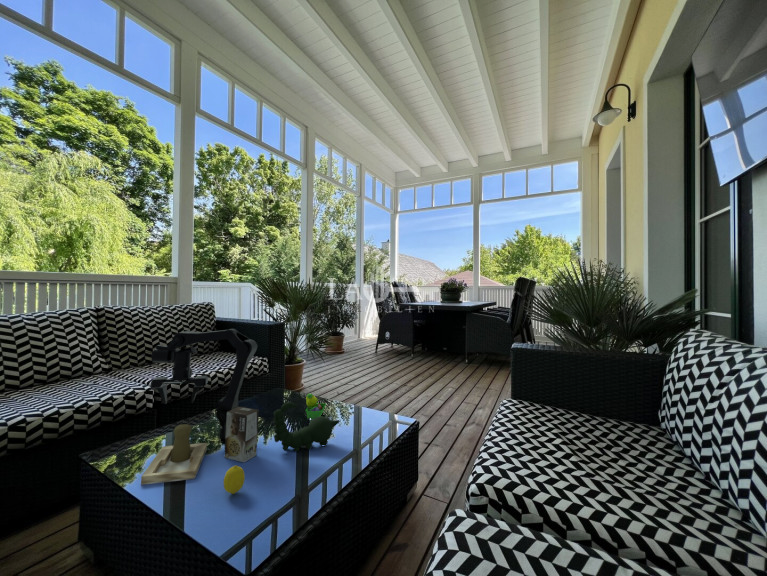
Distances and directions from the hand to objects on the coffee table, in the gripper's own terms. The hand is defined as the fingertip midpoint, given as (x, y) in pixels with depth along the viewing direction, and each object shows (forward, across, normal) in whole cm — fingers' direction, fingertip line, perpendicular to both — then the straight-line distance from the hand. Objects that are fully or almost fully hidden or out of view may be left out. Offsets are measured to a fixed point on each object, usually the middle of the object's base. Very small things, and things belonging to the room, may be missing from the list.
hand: (178, 403), depth 129 cm
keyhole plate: (+13, -6, +24) cm, 28 cm away
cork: (+13, -6, +20) cm, 24 cm away
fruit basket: (+13, -55, -11) cm, 58 cm away
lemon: (+13, -25, +45) cm, 53 cm away
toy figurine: (+13, -48, +20) cm, 54 cm away
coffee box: (+13, -25, +22) cm, 36 cm away
